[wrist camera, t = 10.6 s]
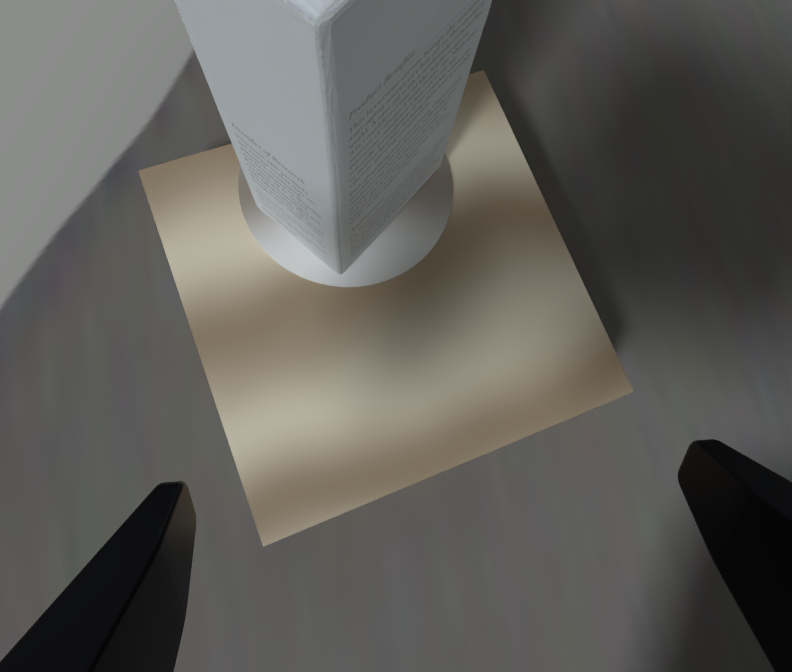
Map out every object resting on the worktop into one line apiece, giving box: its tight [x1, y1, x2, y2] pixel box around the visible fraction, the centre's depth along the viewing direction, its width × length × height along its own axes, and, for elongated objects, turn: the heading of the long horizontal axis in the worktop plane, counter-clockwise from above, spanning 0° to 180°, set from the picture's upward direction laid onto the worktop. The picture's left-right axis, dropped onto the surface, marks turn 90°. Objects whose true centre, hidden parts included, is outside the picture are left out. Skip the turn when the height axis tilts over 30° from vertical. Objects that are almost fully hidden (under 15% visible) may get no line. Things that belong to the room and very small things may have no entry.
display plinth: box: [139, 70, 634, 547], centre depth 21 cm, size 15×14×4 cm
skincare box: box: [175, 0, 492, 274], centre depth 14 cm, size 6×4×12 cm
